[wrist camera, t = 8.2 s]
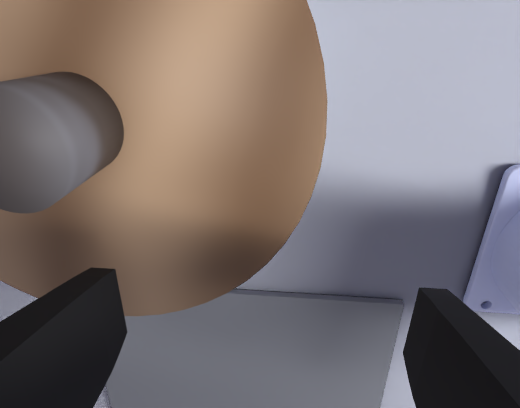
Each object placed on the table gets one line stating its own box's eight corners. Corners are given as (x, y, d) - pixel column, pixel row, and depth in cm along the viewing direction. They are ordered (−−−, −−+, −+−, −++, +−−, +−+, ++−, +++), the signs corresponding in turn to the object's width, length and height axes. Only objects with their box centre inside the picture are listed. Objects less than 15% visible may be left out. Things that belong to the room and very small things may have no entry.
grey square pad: (402, 299, 20) (404, 304, 19) (359, 486, 28) (360, 493, 27) (84, 279, 21) (80, 283, 21) (128, 464, 29) (126, 469, 28)
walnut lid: (392, -148, 8) (461, -274, 5) (277, 331, 15) (272, 421, 11) (-245, -257, 8) (-609, -452, 5) (-81, 266, 15) (-191, 335, 12)
